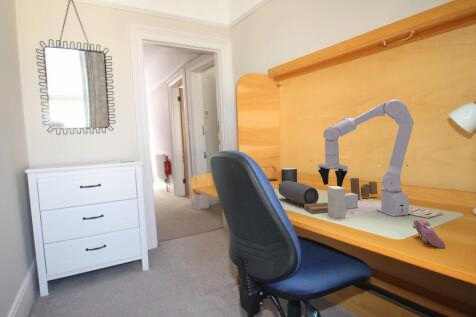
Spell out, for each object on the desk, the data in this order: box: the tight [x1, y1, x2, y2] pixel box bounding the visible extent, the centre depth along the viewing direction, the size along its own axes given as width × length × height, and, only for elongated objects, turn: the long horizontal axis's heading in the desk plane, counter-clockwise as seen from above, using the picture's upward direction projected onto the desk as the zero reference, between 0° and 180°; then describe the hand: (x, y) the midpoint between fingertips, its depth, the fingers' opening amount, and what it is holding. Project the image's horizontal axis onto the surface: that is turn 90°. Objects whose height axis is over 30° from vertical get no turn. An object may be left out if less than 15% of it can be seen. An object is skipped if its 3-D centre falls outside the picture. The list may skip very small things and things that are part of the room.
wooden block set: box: [349, 177, 378, 200], centre depth 134 cm, size 18×9×10 cm, turn 84°
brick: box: [345, 192, 359, 210], centre depth 117 cm, size 4×8×6 cm, turn 105°
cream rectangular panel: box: [345, 211, 356, 215], centre depth 108 cm, size 6×8×1 cm
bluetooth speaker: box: [277, 180, 320, 206], centre depth 129 cm, size 23×9×10 cm, turn 20°
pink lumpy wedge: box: [412, 219, 446, 249], centre depth 76 cm, size 10×5×7 cm, turn 163°
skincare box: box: [327, 185, 346, 220], centre depth 104 cm, size 6×4×12 cm
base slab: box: [303, 202, 328, 215], centre depth 113 cm, size 8×14×2 cm, turn 99°
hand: (332, 185), depth 118 cm, fingers open, 7 cm apart
